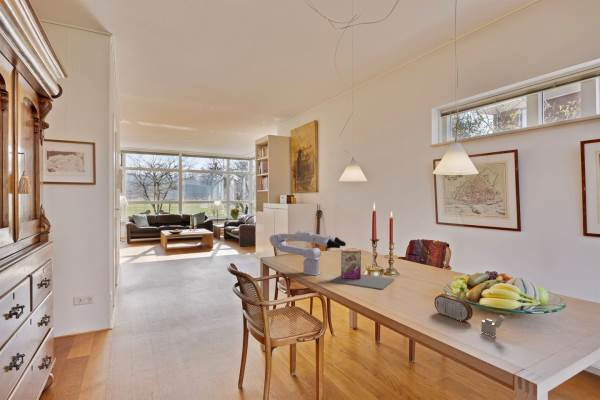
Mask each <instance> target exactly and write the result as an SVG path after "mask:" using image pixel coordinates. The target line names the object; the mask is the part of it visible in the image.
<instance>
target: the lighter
mask: <svg viewBox="0 0 600 400" xmlns="http://www.w3.org/2000/svg"><path fill="white" fill-rule="evenodd" d="M505 319H506V317H505V316H504V315H502V314H500V315H498V317H497V319H496V321H494V322H493V320H492V319H489V318H484V320H481V326H480V327H481V332H483V333H486V334H489V335H491V336H495V335H496V336H497V328H500V327H501V326H502V324H503V322H504V321H505ZM491 336H490V337H491Z"/></svg>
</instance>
